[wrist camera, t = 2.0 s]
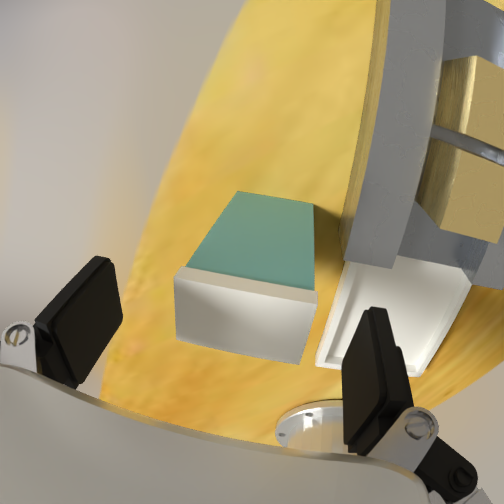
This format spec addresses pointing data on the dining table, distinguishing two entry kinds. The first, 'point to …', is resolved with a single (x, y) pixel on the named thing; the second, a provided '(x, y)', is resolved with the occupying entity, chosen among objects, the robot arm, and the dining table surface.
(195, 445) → the robot arm
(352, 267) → the tray
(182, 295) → the teal rectangular block
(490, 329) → the dining table surface
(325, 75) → the dining table surface
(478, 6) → the slot board
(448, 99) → the gold cube
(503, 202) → the chip
